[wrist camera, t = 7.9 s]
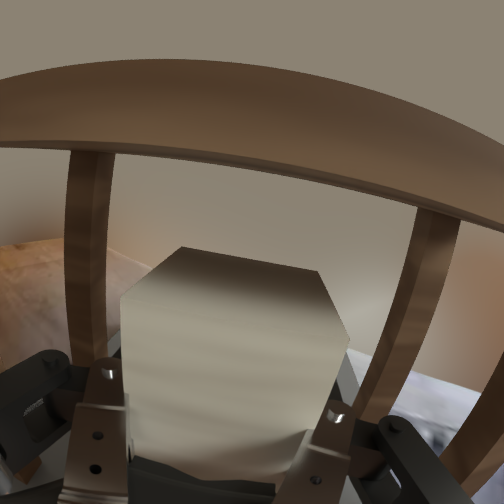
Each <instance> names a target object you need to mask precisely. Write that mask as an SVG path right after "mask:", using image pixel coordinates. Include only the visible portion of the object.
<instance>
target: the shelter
mask: <svg viewBox="0 0 504 504" xmlns="http://www.w3.org/2000/svg"><path fill="white" fill-rule="evenodd" d="M0 147H5V148H9V147H10V148H38V149H39V148H40V149H57V150H71V155H70V164H69V172H68V181H67V194H66V206H65V207H66V208H65V229H64V231H65V232H64V274H65V295H66V309H67V320H68V330H69V339H70V347H71V354H72V360H73V366H81V367H90V366H91V364H92V363H93V362H94V361H95V360H97V359H100V358H104V357H108V346H107V327H106V249H107V230H108V229H107V228H108V216H109V204H110V194H111V193H110V192H111V185H112V176H113V167H114V161H115V154H116V153H118V154H131V155H143V156H152V157H161V158H171V159H179V160H187V161H195V162H202V163H210V164H217V165H224V166H230V167H237V168H243V169H250V170H255V171H261V172H267V173H272V174H278V175H283V176H288V177H294V178H299V179H304V180H309V181H314V182H318V183H323V184H328V185H332V186H337V187H341V188H346V189H350V190H354V191H358V192H362V193H367V194H371V195H375V196H379V197H383V198H386V199H390V200H394V201H398V202H402V203H405V204H409V205H412V206H416V207H418V209H417V214H416V218H415V223H414V227H413V231H412V236H411V240H410V244H409V248H408V252H407V256H406V259H405V263H404V266H403V270H402V274H401V277H400V280H399V284H398V287H397V290H396V293H395V297H394V300H393V303H392V306H391V309H390V312H389V315H388V318H387V321H386V324H385V327H384V330H383V332H382V335H381V337H380V340H379V343H378V346H377V348H376V351H375V353H374V356H373V358H372V361H371V363H370V366H369V368H368V370H367V373H366V375H365V378H364V380H363V382H362V384H361V387H360V389H359V391H358V393H357V396H356V398H355V400H354V402H353V404H352V406H351V408H352V409H353V410H354V411H355V414H356V418H358V419H360V420H363V421H367V422H371V423H375V424H378V422H379V421H380V419H381V418H383V417H385V416H387V415H388V414H389V412H390V410H391V408H392V406H393V404H394V402H395V401H396V399H397V397H398V395H399V393H400V391H401V389H402V387H403V385H404V383H405V381H406V379H407V377H408V374H409V372H410V370H411V368H412V366H413V364H414V361H415V359H416V357H417V355H418V352H419V350H420V347H421V345H422V343H423V341H424V338H425V336H426V333H427V330H428V328H429V325H430V323H431V320H432V317H433V315H434V312H435V309H436V306H437V303H438V301H439V297H440V295H441V292H442V289H443V286H444V282H445V279H446V276H447V272H448V269H449V266H450V262H451V259H452V255H453V251H454V247H455V243H456V239H457V235H458V231H459V226H460V222H461V220H463V221H467V222H470V223H473V224H477V225H480V226H483V227H486V228H490V229H493V230H496V231H499V232H503V233H504V145H502V144H500V143H498V142H497V141H495V140H493V139H491V138H489V137H487V136H485V135H483V134H481V133H479V132H477V131H475V130H473V129H471V128H469V127H467V126H465V125H463V124H461V123H458V122H456V121H454V120H452V119H449V118H447V117H445V116H443V115H440V114H438V113H435V112H432V111H430V110H428V109H425V108H423V107H420V106H417V105H415V104H412V103H410V102H406V101H404V100H401V99H398V98H395V97H392V96H389V95H386V94H383V93H380V92H377V91H373V90H370V89H366V88H363V87H359V86H356V85H352V84H349V83H345V82H341V81H337V80H333V79H329V78H324V77H319V76H315V75H311V74H306V73H300V72H295V71H290V70H284V69H278V68H272V67H265V66H258V65H250V64H242V63H232V62H220V61H207V60H185V59H139V60H120V61H106V62H95V63H86V64H78V65H70V66H63V67H57V68H51V69H46V70H40V71H35V72H31V73H26V74H22V75H18V76H13V77H9V78H5V79H1V80H0ZM4 371H5V369H4V365H3V362H2V358H1V354H0V374H1V373H2V372H4ZM439 459H440V461H441V462H442V463H443V464H444V466H445V467H446V468H447V469H448V471H449V472H450V473H451V475H452V476H453V477H454V478H455V480H456V481H457V482H458V483H459V485H460V486H461V487H462V489H463V490H464V491H465V492H466V494H467V495H468V496H469V498H471V497H472V496H473V495H474V494H475V493H476V492H477V491H478V490H479V489H480V488H481V487H482V486H483V485H484V484H485V483H486V482H487V481H488V480H489V479H490V478H491V477H492V475H493V474H494V473H495V472H496V471H497V470H498V469H499V467H500V466H501V465H502V464H503V463H504V352H503V354H502V356H501V358H500V360H499V363H498V365H497V367H496V369H495V371H494V372H493V375H492V376H491V378H490V380H489V382H488V384H487V385H486V387H485V389H484V391H483V393H482V394H481V396H480V398H479V399H478V401H477V403H476V404H475V406H474V408H473V409H472V411H471V412H470V414H469V416H468V417H467V419H466V420H465V422H464V423H463V425H462V426H461V428H460V429H459V431H458V432H457V434H456V435H455V436H454V438H453V439H452V441H451V442H450V443H449V445H448V446H447V447H446V449H445V450H444V451H443V453H442V454H441V455H440V457H439ZM41 464H42V461H41V459H40V457H39V456H38V457H36V458H35V459H34V460H33V461H31V462H30V463H29V464H28V465H26V466H25V467H24V468H23V469H21V470H20V471H19V472H18V473H16V474H15V475H14V476H13V477H15V478H16V479H18V480H19V481H21V482H22V483H24V484H26V485H27V484H28V482H29V481H30V480H31V478H32V477H33V475H34V474H35V472H36V471H37V469H38V468H39V467H40V465H41Z"/></svg>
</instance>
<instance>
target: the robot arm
mask: <svg viewBox="0 0 504 504" xmlns="http://www.w3.org/2000/svg"><path fill="white" fill-rule="evenodd" d="M41 398H43V401H44V403H43V404H41V405H40V406H39V407H37V408H36V409H34V410H33V411H31V412H30V413H28V414H27V415H25V416H24V417H23V414H24V411H25V410H26V408H28V407H29V406H30V405H32V404H33V403H35V402H36V401H38V400H39V399H41ZM70 430H71V433H70V439H69V445H68V452H67V458H66V466H65V474H64V478H61V479H58V480H55V481H52V482H49V483H46V484H42V485H39V486H36V487H32V488H29V489H25V490H22V491H18V492H14V493H11V492H12V489H11V486H12V484H13V476H14V475H15V474H16V473H18V472H19V471H20V470H21V469H23V468H24V467H25V466H26V465H28V464H29V463H30V462H31V461H33V460H34V459H35V458H36V457H38V456H39V455H40V454H41V453H43V452H44V451H45V450H46V449H48V448H49V447H50V446H51V445H53V444H54V443H55V442H56V441H57V440H59V439H60V438H61V437H62V436H64V435H65V434H66V433H67V432H69V431H70ZM390 469H392V470H393V472H394V474H395V475H396V477H397V478H398V480H399V481H400V483H401V488H400V487H399V485H398V484H397V482H396V480H395V479H394V477H393V476H392V474H391V473H390ZM347 475H348V476H349V479H350V481H351V483H352V485H353V487H354V489H355V491H356V493H357V494H358V496H359V498H360V500H361V502H362V504H474V503H473V501H472V500H471V499H470V498H469V496H468V495H467V494H466V492H465V491H464V490H463V489H462V487H461V486H460V485H459V483H458V482H457V481H456V480H455V478H454V477H453V476H452V475H451V473H450V472H449V471H448V469H447V468H446V467H445V466H444V464H443V463H442V462H441V461H440V459H439V458H438V457H437V456H436V454H435V453H434V452H433V450H432V449H431V448H430V447H429V445H428V444H427V443H426V442H425V440H424V439H423V438H422V437H421V435H420V434H419V433H418V432H417V430H416V429H415V428H414V427H413V425H412V424H411V423H410V422H409V421H407V420H406V419H404V418H402V417H399V416H395V415H388V416H385V417H383V418H381V419H380V421H379V422H378V424H375V423H371V422H367V421H363V420H360V419H358V418H356V414H355V411H354V410H353V409H352V408H351V407H350V406H349V405H348V404H346V403H344V402H343V400H342V396H341V393H340V389H339V386H338V382H337V379H336V380H335V382H334V385H333V387H332V390H331V392H330V395H329V397H328V400H327V402H326V404H325V407H324V409H323V412H322V414H321V416H320V419H319V421H318V423H317V425H316V428H315V429H307V431H306V433H305V435H304V438H303V440H302V442H301V444H300V447H299V449H298V451H297V453H296V455H295V458H294V460H293V462H292V464H291V466H290V468H289V470H288V472H287V474H286V476H285V478H284V480H283V482H282V484H281V486H280V488H279V490H278V492H277V493H275V489H276V484H275V483H264V482H255V481H247V480H200V479H198V478H195V477H193V476H191V475H189V474H186V473H184V472H182V471H180V470H178V469H176V468H173V467H171V466H169V465H167V464H163V463H160V462H156V461H153V460H149V459H146V458H143V457H140V456H137V455H135V450H134V440H133V439H132V438H131V434H130V403H129V394H128V393H124V387H123V373H122V355H121V346H120V347H119V349H118V350H117V351H116V352H115V353H114V355H113V356H112V357H104V358H100V359H97V360H95V361H94V362H93V363H92V364H91V366H90V367H81V366H73V365H70V362H69V358H68V356H67V355H66V354H65V353H63V352H61V351H58V350H44V351H41V352H39V353H37V354H35V355H33V356H32V357H30V358H28V359H26V360H24V361H22V362H21V363H19V364H17V365H15V366H13V367H11V368H10V369H8V370H6V371H4V372H2V373H1V374H0V504H339V501H340V498H341V494H342V491H343V487H344V484H345V480H346V476H347Z"/></svg>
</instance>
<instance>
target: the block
mask: <svg viewBox="0 0 504 504" xmlns="http://www.w3.org/2000/svg"><path fill="white" fill-rule="evenodd" d="M120 317H121V355H122V373H123V387H124V393H128V394H129V403H130V434H131V438H132V439H133V440H134V450H135V455H137V456H140V457H143V458H146V459H149V460H153V461H156V462H160V463H163V464H167V465H169V466H171V467H173V468H176V469H178V470H180V471H182V472H184V473H186V474H189V475H191V476H193V477H195V478H198V479H200V480H247V481H255V482H264V483H275V484H276V489H275V493H277V492H278V490H279V488H280V486H281V484H282V482H283V480H284V478H285V476H286V474H287V472H288V470H289V468H290V466H291V464H292V462H293V460H294V458H295V455H296V453H297V451H298V449H299V447H300V444H301V442H302V440H303V438H304V435H305V433H306V431H307V429H315V428H316V425H317V423H318V421H319V419H320V416H321V414H322V412H323V409H324V407H325V404H326V402H327V400H328V397H329V395H330V392H331V390H332V387H333V385H334V382H335V380H336V377H337V374H338V372H339V369H340V366H341V364H342V361H343V358H344V355H345V353H346V350H347V347H348V344H349V341H350V338H349V336H348V334H347V332H346V330H345V327H344V325H343V323H342V321H341V319H340V317H339V315H338V313H337V310H336V308H335V306H334V304H333V302H332V300H331V298H330V296H329V294H328V291H327V289H326V287H325V286H324V283H323V281H322V279H321V277H320V275H319V273H318V272H317V271H313V270H307V269H302V268H297V267H291V266H285V265H279V264H273V263H269V262H263V261H258V260H252V259H247V258H241V257H235V256H230V255H225V254H219V253H213V252H208V251H202V250H197V249H192V248H187V247H181V248H179V249H178V250H177V251H175V252H174V253H173V254H172V255H170V256H169V257H168V258H167V259H166V260H164V261H163V262H162V263H160V264H159V265H158V266H157V267H156V268H154V269H153V270H152V271H151V272H149V273H148V274H147V275H146V276H144V277H143V278H142V279H141V280H140V281H138V282H137V283H136V284H135V285H134V286H132V287H131V288H130V289H129V290H128V291H126V292H125V293H124V294H123V295H122V296H121V304H120Z"/></svg>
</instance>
